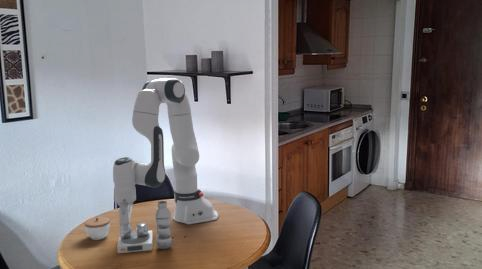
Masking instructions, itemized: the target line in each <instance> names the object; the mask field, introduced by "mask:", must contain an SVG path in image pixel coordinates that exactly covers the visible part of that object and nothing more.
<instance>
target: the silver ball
mask: <svg viewBox="0 0 482 269" xmlns="http://www.w3.org/2000/svg"><path fill="white" fill-rule="evenodd" d="M135 229H136V230H135V231H137V237H138V238H145V237H147V236H148V231H149V224H148V223H147V222H139V223H137V224H136V226H135Z"/></svg>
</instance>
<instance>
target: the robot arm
mask: <svg viewBox="0 0 482 269" xmlns="http://www.w3.org/2000/svg"><path fill="white" fill-rule="evenodd" d="M164 103H165V105H166V107H167V115H168V125H169V130H170V135H171V138H172V142H173V144H172V145H171V160H172V167H173V173H174V192H173V196H174V203H175V205H174V212H173V217H172V219H173V220H174V221H175V222H178V223H183V224H186V225H193V224H198V223H204V222H211V221H216V220H218V218H219V213H218V212H217V210H215V209H214V206H213V204H212V201H209V200H208V199H207V198H205V197H204V193H203V191H202V190H201V189H200V188H199V189H198V173H197V168H196V164H197V163H198V162H199V160H200V152H199V148H198V143H197V138H196V134H195V130H194V124H193V119H192V118H193V117H192V109H191V105H190V101H189V98H188V95H187V93H186V88H185V85H184V82H182V80H180V79H178V78H174V77H173V78H167V77H164V78H158V79H151V80H148V81H146V82H145V83H144V84H143V86H142V89H141V90H139V92H138V93H137V95H136V98H135V102H134V106H133V110H132V111H133V112H132V118H131V120H132V121H131V122H132V127H133V128H134V130H135V131H136V132H137V133H139V134H140V135H142V136H144V137H145V138H146V139H147V140H148V142H149V144H150V163H149V162H143V161H136V160H133V158H131V157H127V156H124V157H119V158H118V159H115V161H114V164H113V166H112V180H113V181H112V182H113V184H114V187H113V200H114V201H113V202H115V203H116V204H117V206H118V208H119V209H118V212H119V213H118V216H119V217H118V218H119V226H120V225H123V227H124V231H128V225H129V224H130V220H131V215H132V209H133V204H134V202H135V201H136V200H137V193H136V190H137V189H136V186H135V185H141V186H146V187H150V188H153V189H155V188H159V187H160V186H161V185H162V184H163V183H164V181H165V179H166V168H165V159H164V158H165V156H164V155H165V150H164V149H165V148H164V145H165V144H164V142H165V141H164V133H163V132H164V131H163V129H162V128H161V127H160V123H159V115H160V114H159V113H160V105H161V104H164Z"/></svg>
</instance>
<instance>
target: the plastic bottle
mask: <svg viewBox="0 0 482 269" xmlns="http://www.w3.org/2000/svg"><path fill="white" fill-rule="evenodd" d="M154 218H155V222H156V223H155V224H156V240H155V245H156V247H157V248H158V249H160V250H167V249H170V248H171V247H172V244H173V239H172V234H171V218H172V212H171V211H170V209H169V208H168V202H167V200H166V201H165V200H160V201H158V202H157V210H156V212H155V214H154Z"/></svg>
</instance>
